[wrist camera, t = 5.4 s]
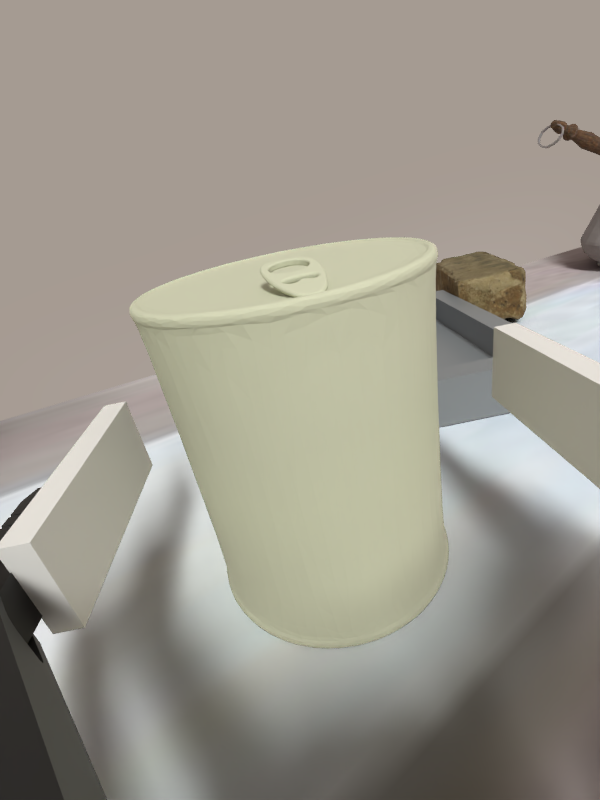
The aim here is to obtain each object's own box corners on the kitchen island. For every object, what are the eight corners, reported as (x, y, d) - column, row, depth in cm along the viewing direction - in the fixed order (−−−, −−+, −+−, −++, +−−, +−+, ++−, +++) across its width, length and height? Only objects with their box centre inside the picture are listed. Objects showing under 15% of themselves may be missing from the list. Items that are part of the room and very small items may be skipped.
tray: (230, 470, 24) (216, 426, 23) (242, 361, 40) (234, 332, 39) (567, 400, 24) (573, 352, 23) (443, 320, 40) (442, 289, 39)
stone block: (485, 294, 46) (486, 247, 44) (529, 326, 36) (533, 267, 33) (431, 302, 47) (430, 257, 44) (460, 336, 36) (459, 279, 34)
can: (238, 691, 13) (79, 325, 8) (223, 506, 21) (141, 267, 16) (502, 598, 14) (522, 224, 9) (390, 457, 22) (365, 219, 17)
